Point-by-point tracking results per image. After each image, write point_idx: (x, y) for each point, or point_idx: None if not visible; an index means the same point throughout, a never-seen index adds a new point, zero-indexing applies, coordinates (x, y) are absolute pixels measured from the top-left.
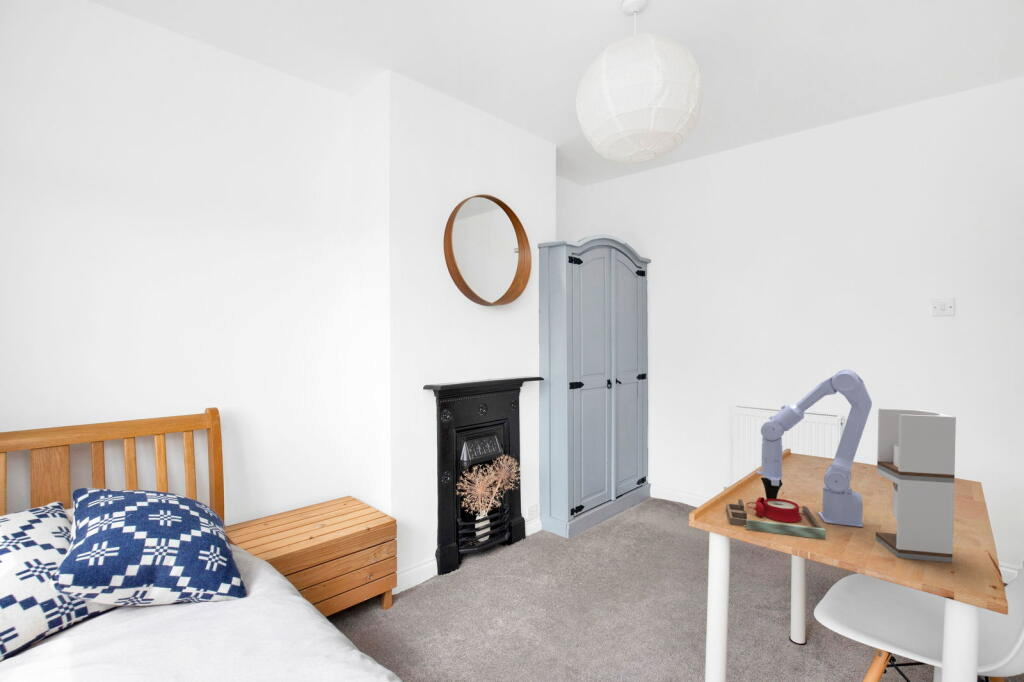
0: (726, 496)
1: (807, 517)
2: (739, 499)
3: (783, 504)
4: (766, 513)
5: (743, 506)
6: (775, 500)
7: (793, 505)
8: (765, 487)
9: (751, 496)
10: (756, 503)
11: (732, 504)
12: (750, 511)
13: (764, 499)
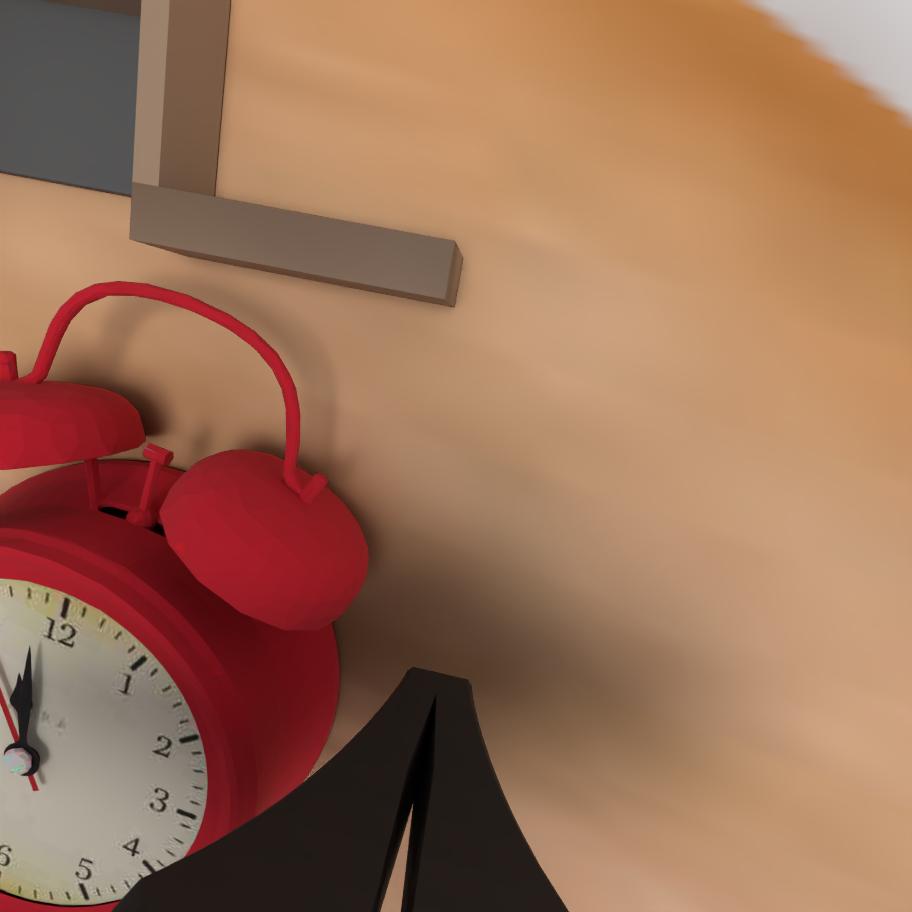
0: (879, 175)
1: None
2: (439, 256)
3: (59, 790)
4: (25, 492)
5: (141, 233)
6: (210, 758)
7: (58, 896)
8: (246, 822)
9: (890, 587)
10: (213, 459)
11: (141, 42)
12: (220, 351)
13: (313, 628)
